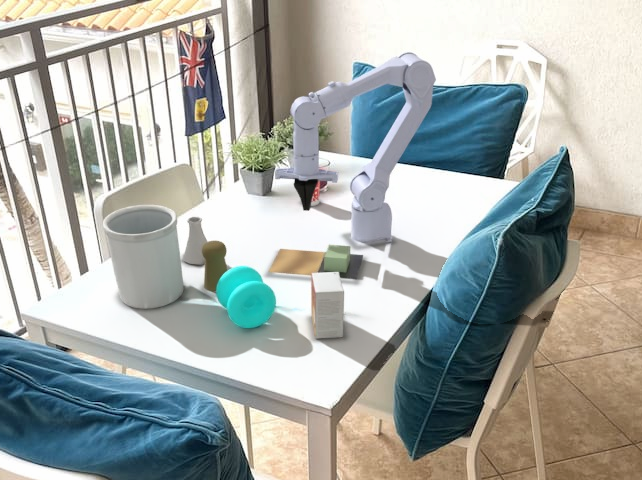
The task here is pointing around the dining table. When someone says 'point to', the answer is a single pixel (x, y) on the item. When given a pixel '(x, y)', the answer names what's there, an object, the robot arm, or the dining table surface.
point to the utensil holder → (145, 255)
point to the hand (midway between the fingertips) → (306, 209)
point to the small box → (327, 304)
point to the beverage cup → (316, 195)
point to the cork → (214, 263)
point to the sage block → (337, 258)
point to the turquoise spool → (246, 297)
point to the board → (310, 263)
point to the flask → (195, 242)
